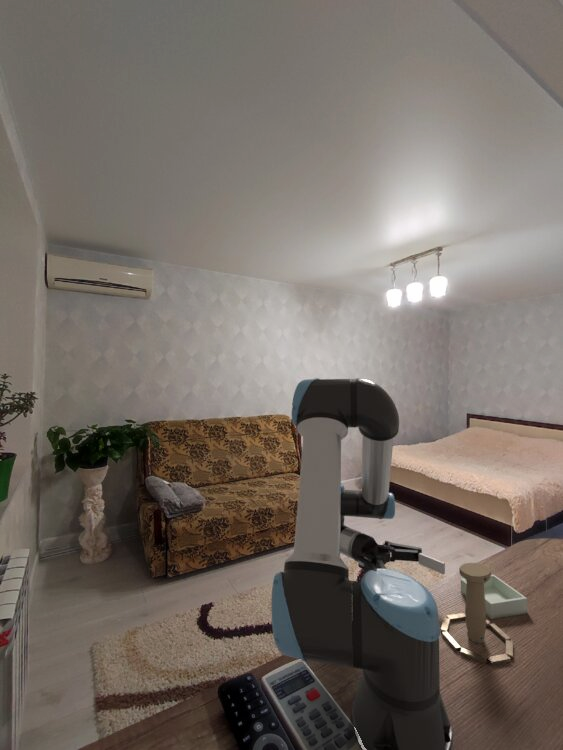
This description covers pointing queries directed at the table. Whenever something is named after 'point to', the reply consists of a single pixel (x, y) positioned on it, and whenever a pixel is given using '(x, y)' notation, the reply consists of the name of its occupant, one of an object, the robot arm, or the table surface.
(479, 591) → the handle
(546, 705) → the table surface
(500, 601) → the bin
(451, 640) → the collar ring
